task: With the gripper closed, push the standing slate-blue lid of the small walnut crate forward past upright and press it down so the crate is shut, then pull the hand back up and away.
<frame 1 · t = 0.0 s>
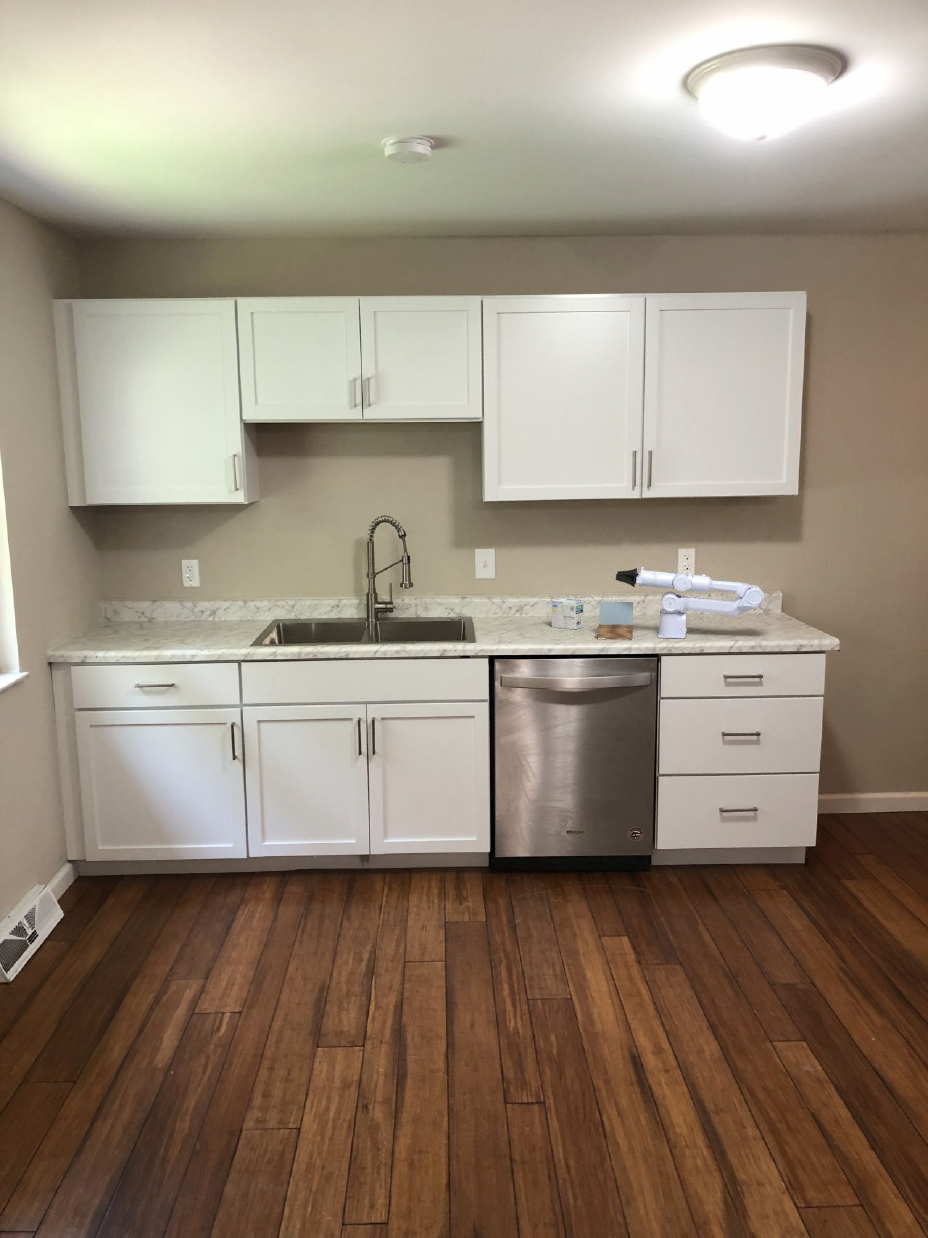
hand: (616, 575, 335), 22 cm above the worktop, tool horizontal, fingers open, 7 cm apart
crate: (615, 637, 334), on the worktop
lid: (616, 612, 338), point 8 cm above the worktop, hinge at 104.0°
light bulb box: (567, 628, 357), on the worktop
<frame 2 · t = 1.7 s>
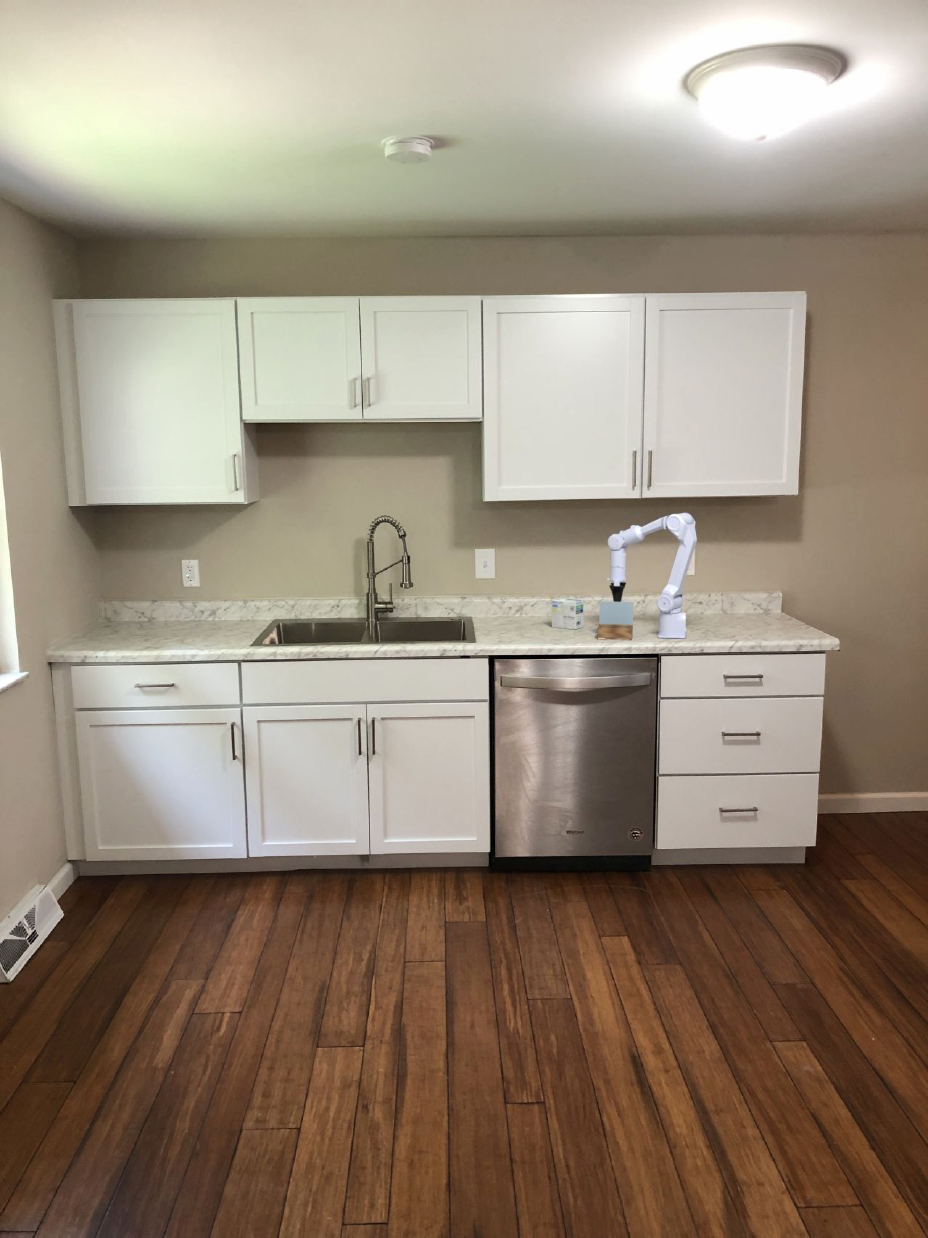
hand: (617, 603, 346), 10 cm above the worktop, tool pointing down, fingers open, 6 cm apart
nothing on the worktop moved.
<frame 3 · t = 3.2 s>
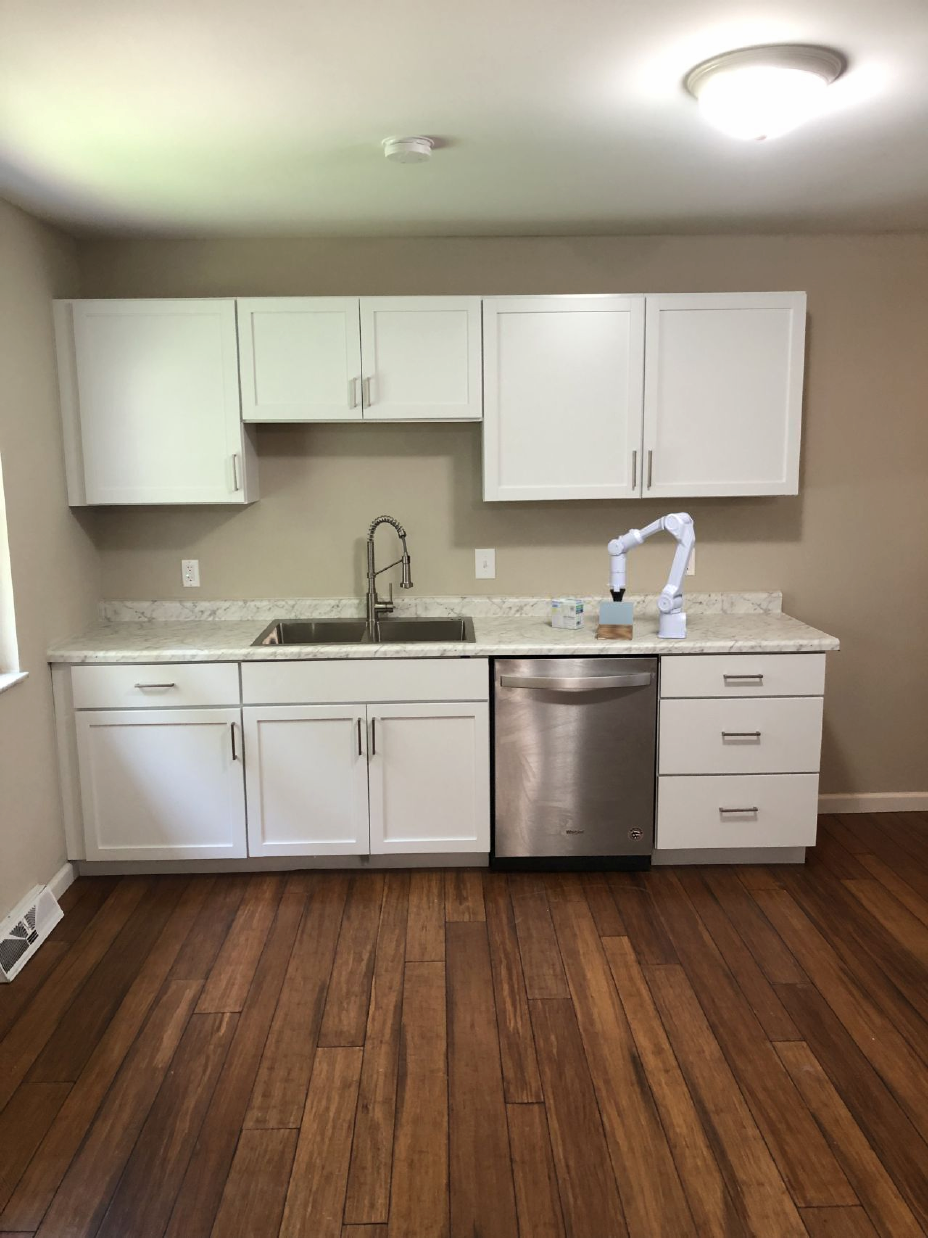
hand: (617, 608, 346), 8 cm above the worktop, tool pointing down, fingers closed
nothing on the worktop moved.
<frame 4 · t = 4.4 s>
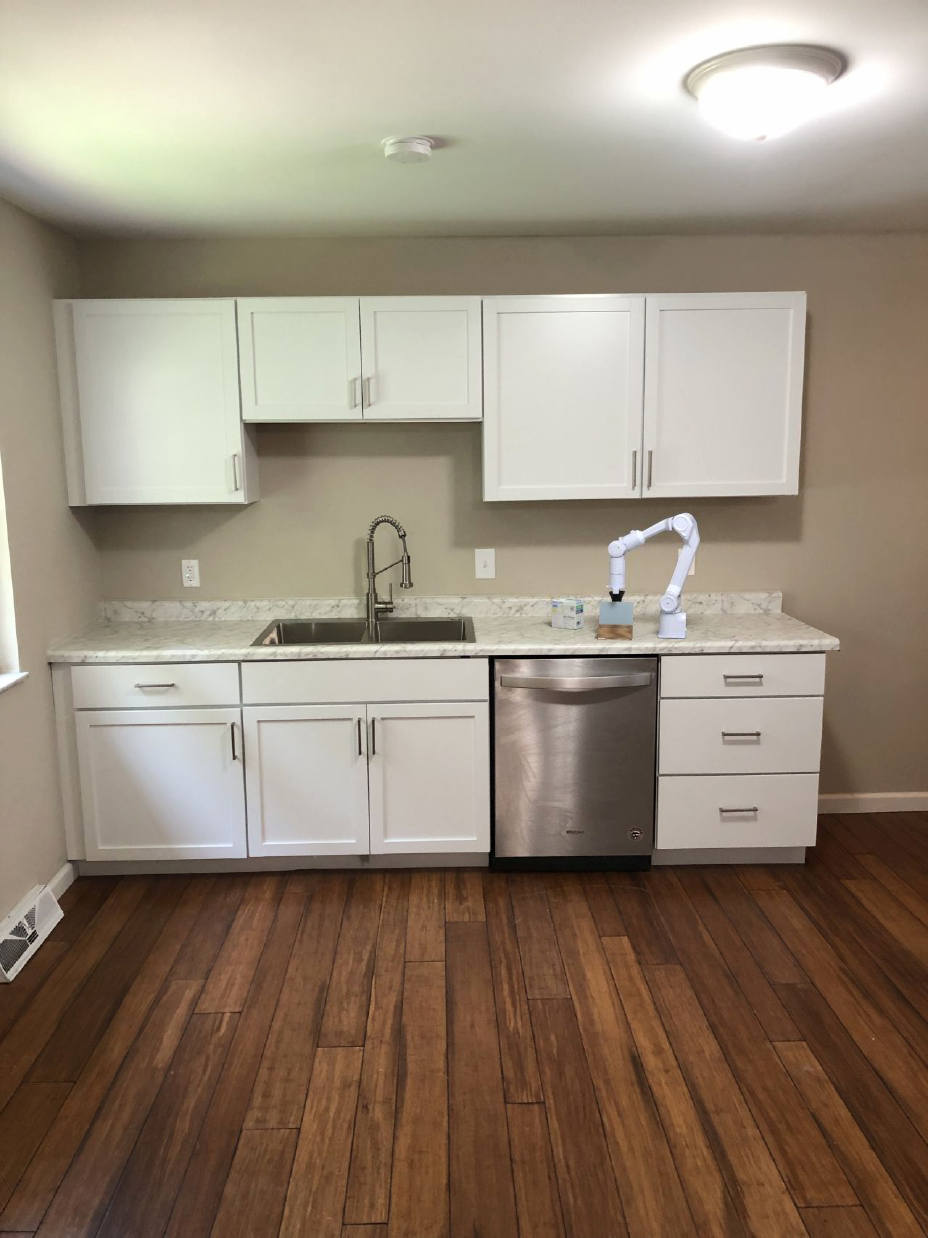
hand: (616, 610, 341), 8 cm above the worktop, tool pointing down, fingers closed
lid: (616, 612, 338), point 8 cm above the worktop, hinge at 104.0°, touching gripper
everything else where it was.
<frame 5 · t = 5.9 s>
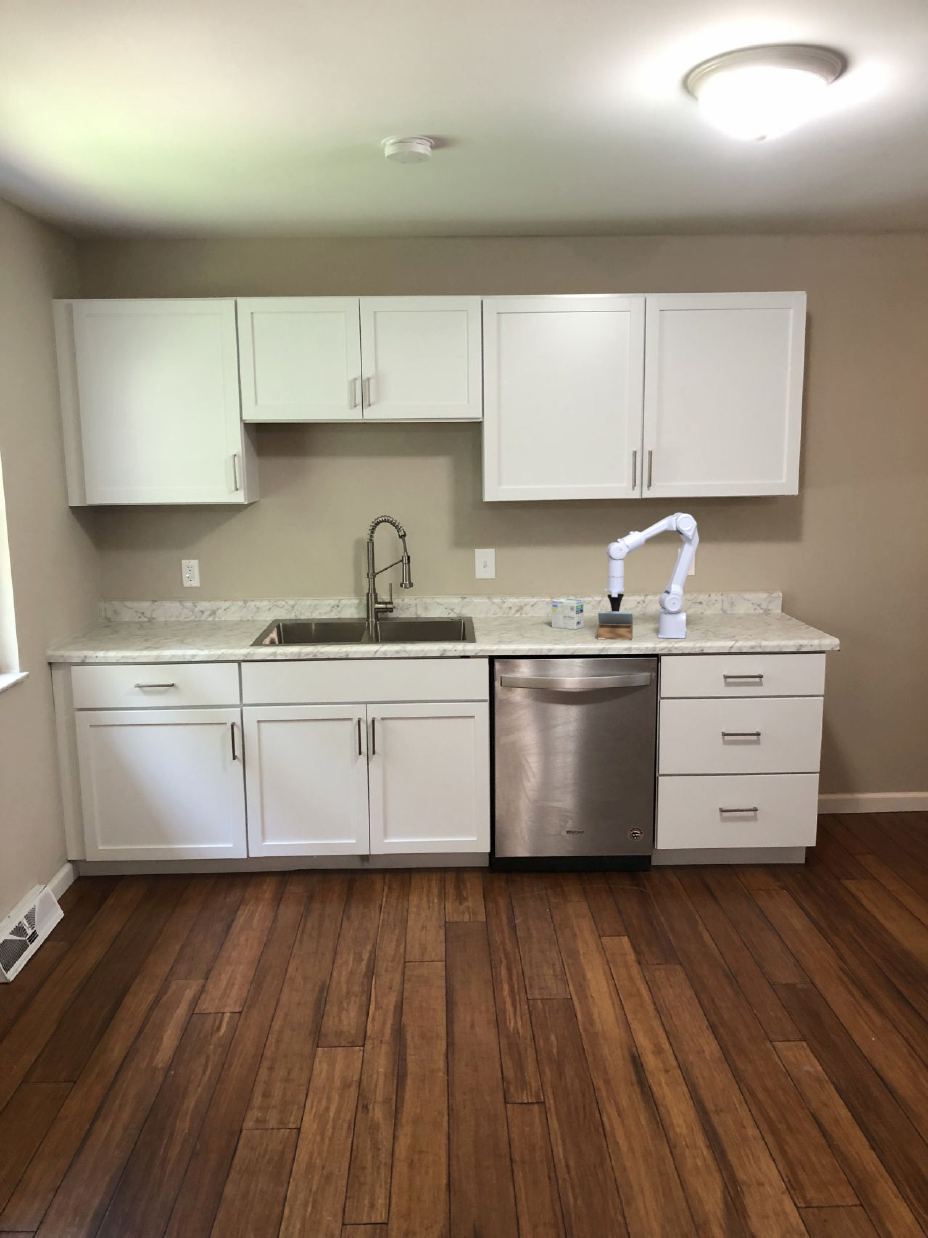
hand: (615, 614, 333), 8 cm above the worktop, tool pointing down, fingers closed, pressing on lid
lid: (615, 617, 334), point 7 cm above the worktop, hinge at 38.0°, touching gripper
everything else where it was.
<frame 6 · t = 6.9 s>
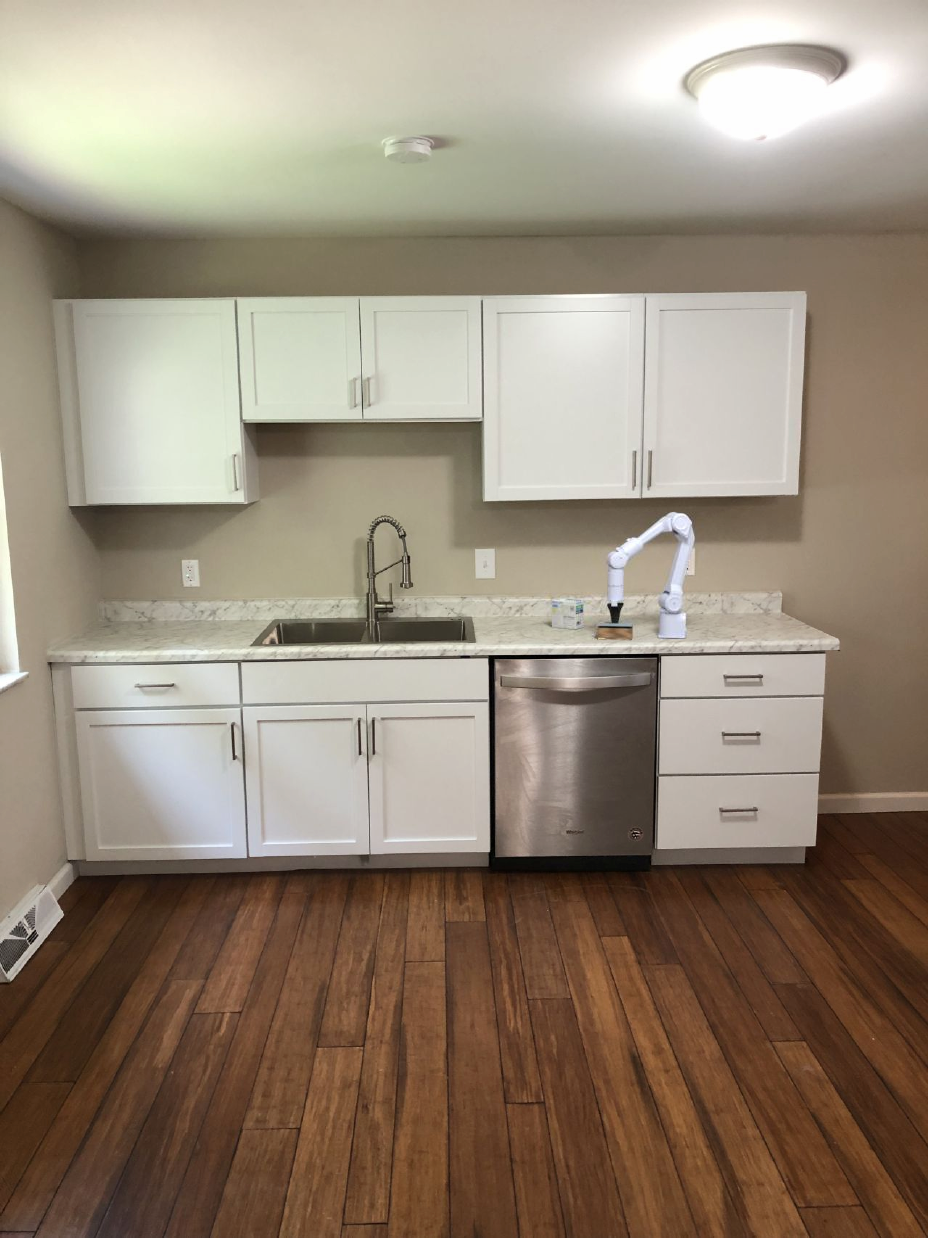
hand: (615, 623, 332), 5 cm above the worktop, tool pointing down, fingers closed, pressing on lid
lid: (615, 623, 333), point 5 cm above the worktop, hinge at 5.5°, touching gripper
everything else where it was.
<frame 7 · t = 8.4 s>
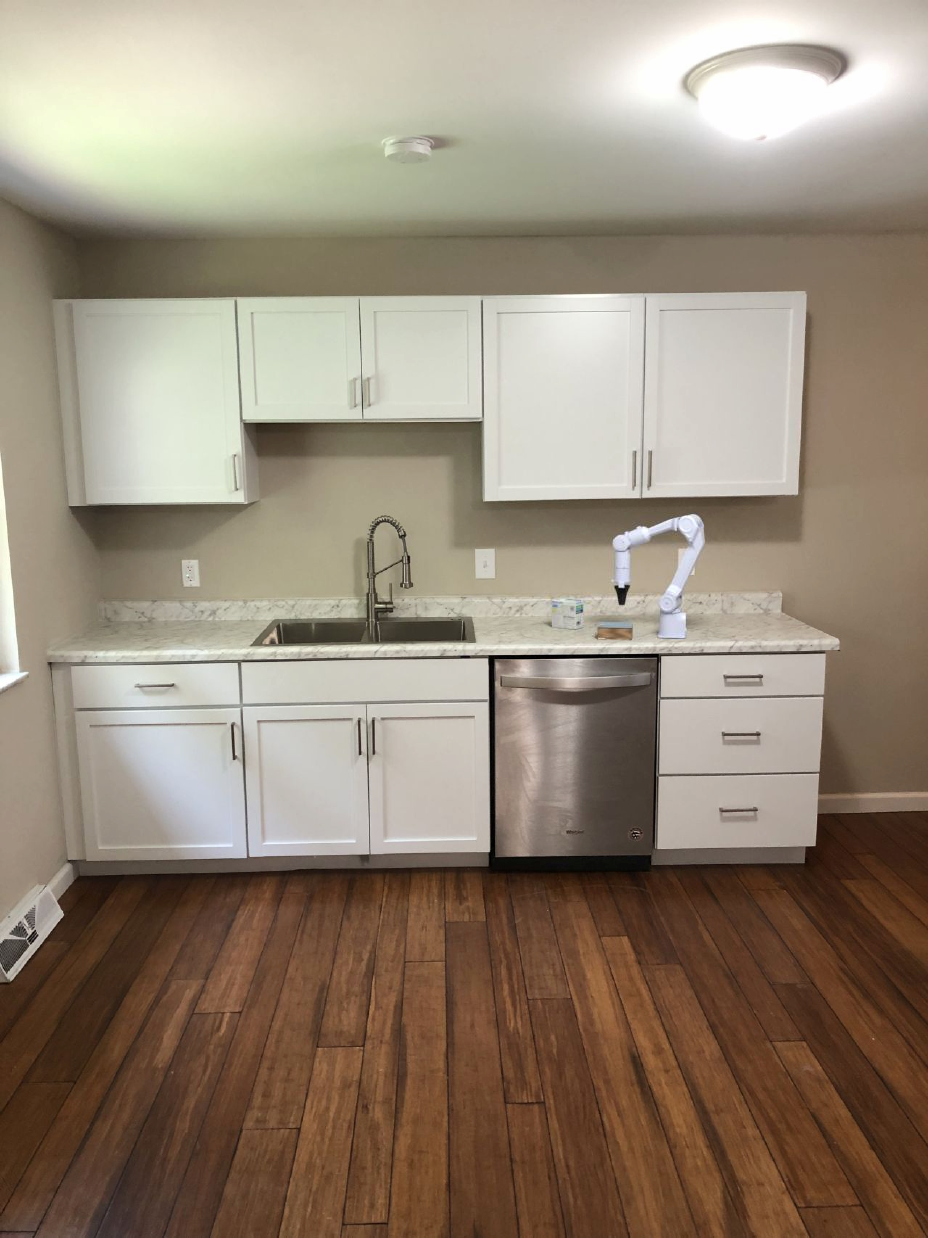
hand: (621, 604, 341), 10 cm above the worktop, tool pointing down, fingers closed
lid: (615, 624, 333), point 5 cm above the worktop, hinge at 1.2°
everything else where it was.
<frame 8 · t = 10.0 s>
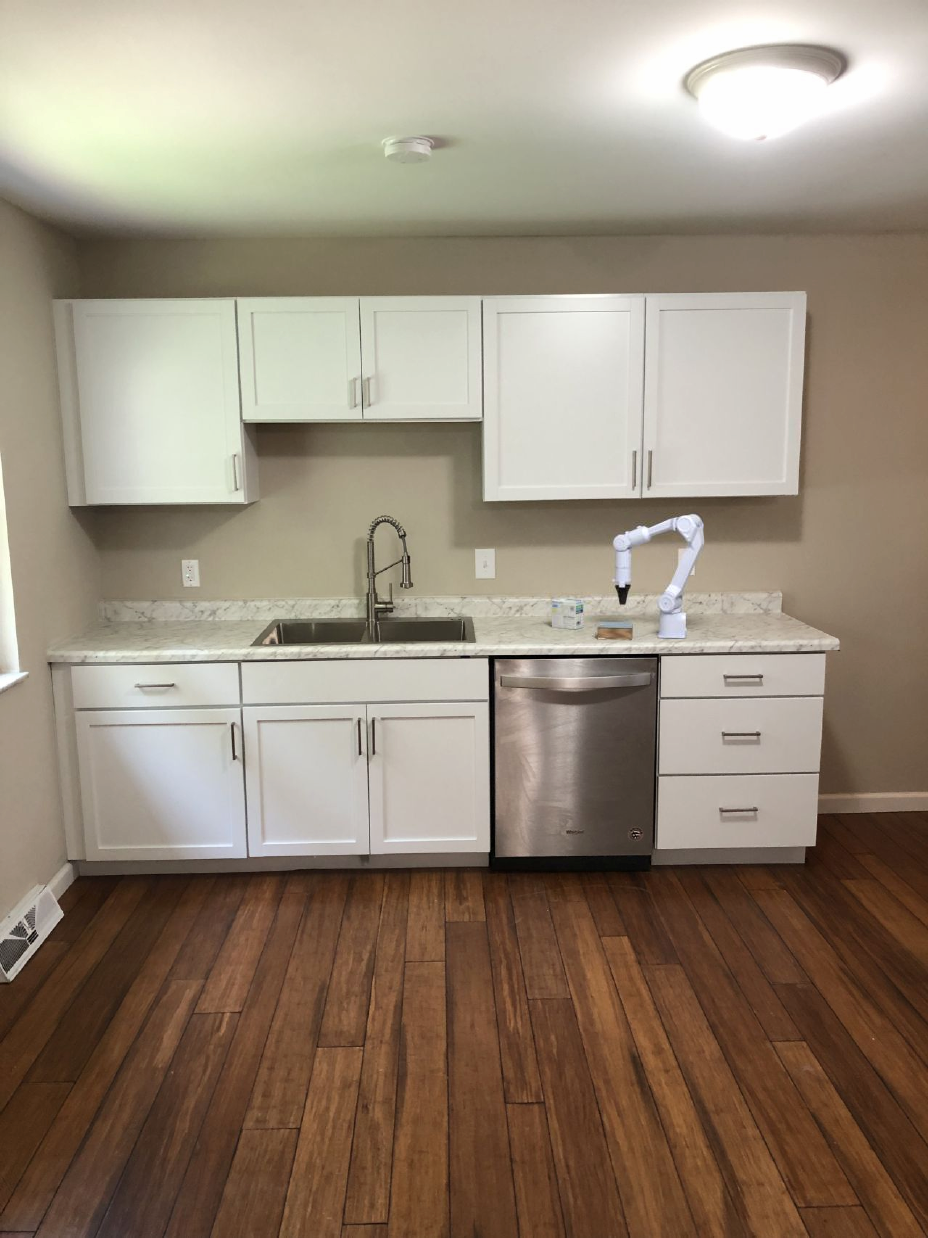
hand: (622, 604, 343), 10 cm above the worktop, tool pointing down, fingers closed
nothing on the worktop moved.
at the end: lid at +1° (first picture: +104°); light bulb box moved 0.3 cm from its start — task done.
